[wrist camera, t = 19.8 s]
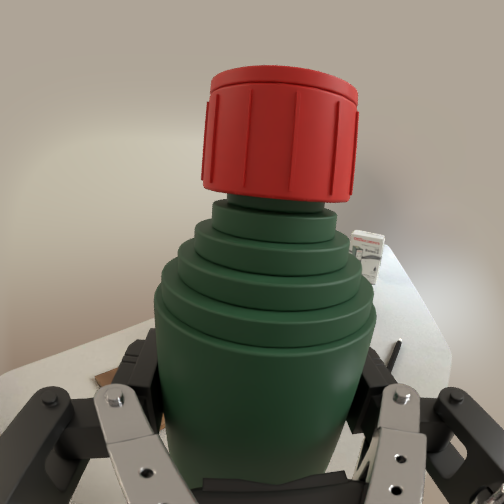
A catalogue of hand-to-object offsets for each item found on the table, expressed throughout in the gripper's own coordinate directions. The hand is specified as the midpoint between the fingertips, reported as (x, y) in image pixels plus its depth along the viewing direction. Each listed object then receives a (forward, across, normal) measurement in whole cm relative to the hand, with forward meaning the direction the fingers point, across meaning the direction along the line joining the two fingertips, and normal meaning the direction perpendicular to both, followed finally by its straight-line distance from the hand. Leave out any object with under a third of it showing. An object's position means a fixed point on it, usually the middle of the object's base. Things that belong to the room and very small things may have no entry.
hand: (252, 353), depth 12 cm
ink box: (+61, -33, +19) cm, 72 cm away
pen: (+23, -23, +20) cm, 38 cm away
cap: (-2, 0, -6) cm, 7 cm away
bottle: (-2, 0, +10) cm, 10 cm away
